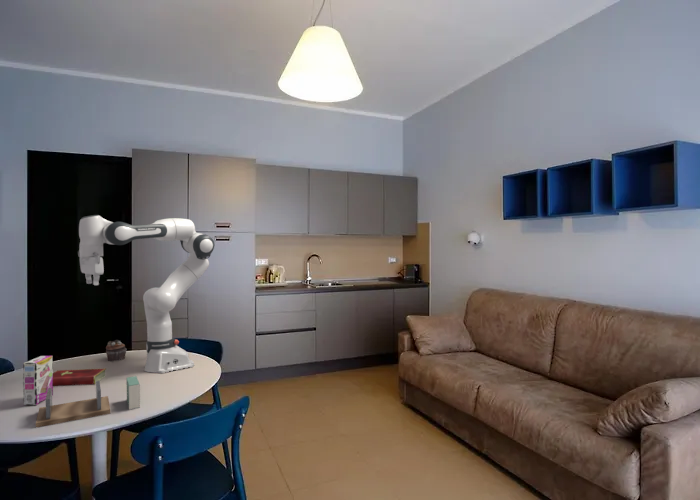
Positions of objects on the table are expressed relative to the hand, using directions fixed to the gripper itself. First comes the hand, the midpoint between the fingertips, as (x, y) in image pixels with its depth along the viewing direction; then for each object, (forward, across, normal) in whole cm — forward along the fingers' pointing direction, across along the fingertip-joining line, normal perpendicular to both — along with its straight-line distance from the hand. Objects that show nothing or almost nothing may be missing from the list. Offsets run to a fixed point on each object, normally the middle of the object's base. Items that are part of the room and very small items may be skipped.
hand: (92, 284), depth 191 cm
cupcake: (+44, +36, -20) cm, 60 cm away
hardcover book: (+44, +10, +5) cm, 46 cm away
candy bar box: (+44, -6, +22) cm, 49 cm away
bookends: (+42, -31, +15) cm, 54 cm away
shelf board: (+43, -31, +15) cm, 55 cm away
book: (+44, -37, -3) cm, 57 cm away
